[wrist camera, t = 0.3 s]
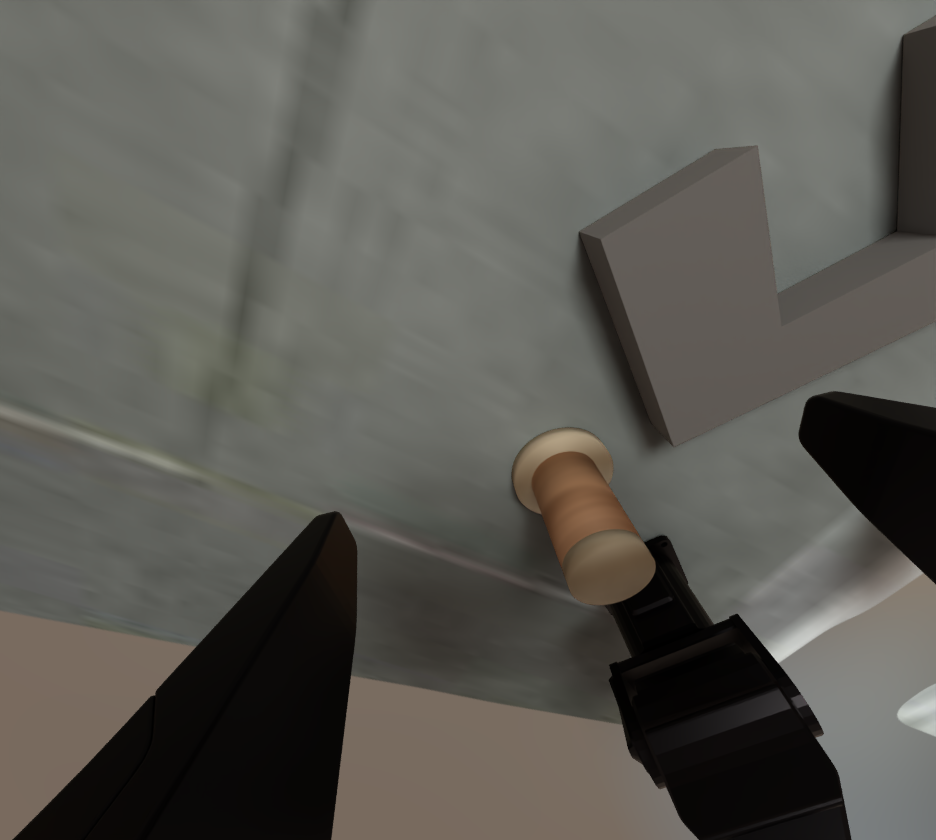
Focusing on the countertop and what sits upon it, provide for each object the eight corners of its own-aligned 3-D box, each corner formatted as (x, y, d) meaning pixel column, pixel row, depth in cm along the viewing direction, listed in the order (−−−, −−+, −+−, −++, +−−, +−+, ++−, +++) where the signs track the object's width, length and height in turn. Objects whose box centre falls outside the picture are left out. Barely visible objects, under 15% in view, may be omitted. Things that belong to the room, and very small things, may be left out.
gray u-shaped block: (1024, 237, 21) (1094, 244, 18) (651, 423, 24) (674, 447, 22) (1086, -76, 15) (1200, -119, 12) (578, 231, 18) (600, 239, 16)
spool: (619, 478, 26) (690, 585, 19) (535, 518, 27) (575, 633, 20) (586, 410, 23) (657, 508, 16) (494, 457, 24) (525, 569, 17)
